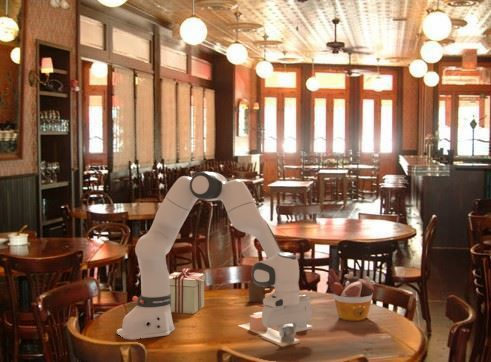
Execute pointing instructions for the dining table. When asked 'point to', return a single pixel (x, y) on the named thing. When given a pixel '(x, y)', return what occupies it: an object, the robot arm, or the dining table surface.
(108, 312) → the dining table surface
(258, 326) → the terracotta block
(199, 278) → the gift box
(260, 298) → the mug
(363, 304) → the bucket of meat
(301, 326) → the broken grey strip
